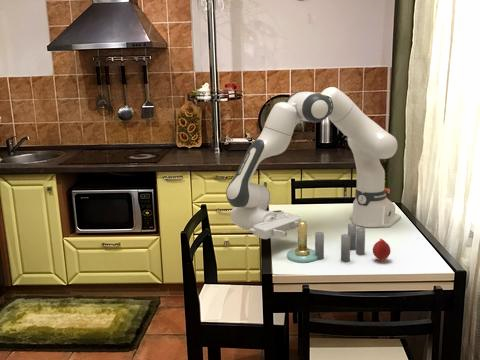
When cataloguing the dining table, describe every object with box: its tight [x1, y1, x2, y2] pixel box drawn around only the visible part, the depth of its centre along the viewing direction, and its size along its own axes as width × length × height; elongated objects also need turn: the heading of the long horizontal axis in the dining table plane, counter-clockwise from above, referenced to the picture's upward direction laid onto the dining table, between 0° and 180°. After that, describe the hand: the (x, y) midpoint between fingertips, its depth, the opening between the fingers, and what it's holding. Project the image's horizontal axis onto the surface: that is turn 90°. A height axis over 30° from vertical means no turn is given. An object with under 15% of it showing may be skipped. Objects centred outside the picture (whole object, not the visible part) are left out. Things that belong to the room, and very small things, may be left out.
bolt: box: [294, 220, 311, 256], centre depth 187 cm, size 5×5×12 cm
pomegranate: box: [372, 237, 392, 262], centre depth 182 cm, size 6×6×8 cm
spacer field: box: [314, 223, 366, 263], centre depth 188 cm, size 18×11×9 cm, turn 134°
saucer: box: [286, 248, 318, 264], centre depth 188 cm, size 11×11×1 cm
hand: (294, 231), depth 188 cm, fingers open, 8 cm apart
